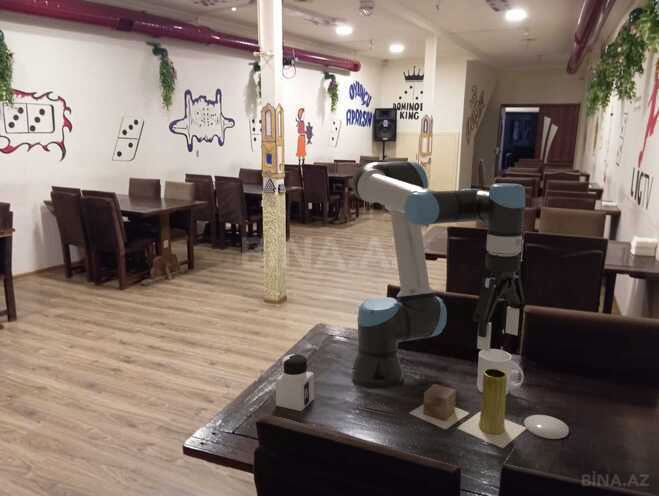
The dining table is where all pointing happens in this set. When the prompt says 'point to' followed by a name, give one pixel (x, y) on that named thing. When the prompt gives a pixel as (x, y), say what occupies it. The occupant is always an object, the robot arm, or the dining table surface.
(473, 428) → the plate
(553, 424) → the white round coaster
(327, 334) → the dining table surface
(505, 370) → the mug
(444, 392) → the walnut block
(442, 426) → the plate
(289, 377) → the container
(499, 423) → the vase
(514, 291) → the robot arm
